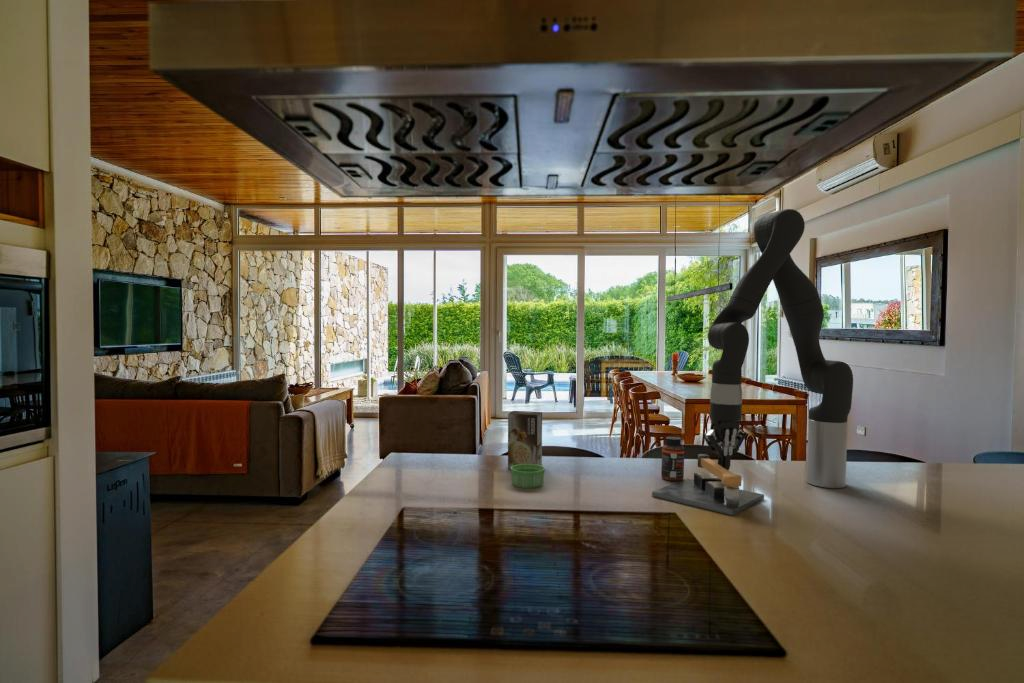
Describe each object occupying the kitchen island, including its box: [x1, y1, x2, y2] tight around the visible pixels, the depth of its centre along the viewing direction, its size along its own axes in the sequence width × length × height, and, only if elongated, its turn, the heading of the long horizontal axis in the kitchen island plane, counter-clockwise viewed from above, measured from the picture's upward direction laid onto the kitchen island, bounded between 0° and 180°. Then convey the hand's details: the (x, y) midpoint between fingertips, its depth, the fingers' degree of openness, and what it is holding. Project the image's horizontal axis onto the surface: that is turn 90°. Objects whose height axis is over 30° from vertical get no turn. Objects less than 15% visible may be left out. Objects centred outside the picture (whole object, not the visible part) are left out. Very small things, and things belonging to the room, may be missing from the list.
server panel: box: [651, 472, 765, 516], centre depth 143 cm, size 19×20×5 cm
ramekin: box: [510, 464, 546, 489], centre depth 152 cm, size 9×9×4 cm
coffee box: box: [507, 410, 543, 470], centre depth 170 cm, size 9×6×16 cm
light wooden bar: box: [697, 453, 742, 488], centre depth 142 cm, size 22×4×3 cm, turn 1°
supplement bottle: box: [660, 436, 685, 482], centre depth 160 cm, size 6×6×11 cm
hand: (724, 469), depth 148 cm, fingers closed
